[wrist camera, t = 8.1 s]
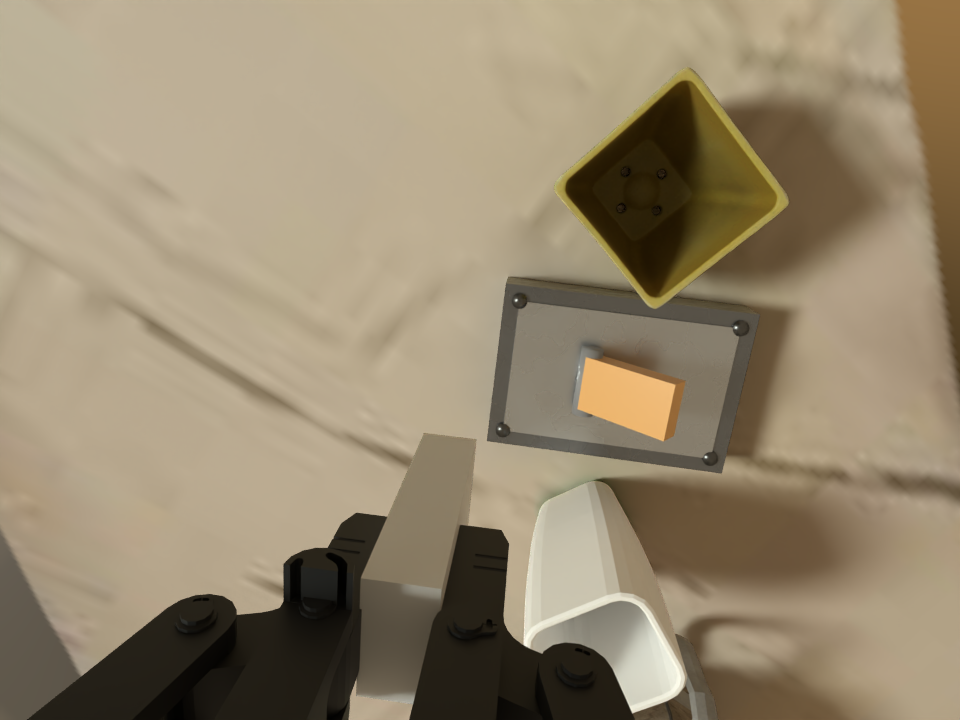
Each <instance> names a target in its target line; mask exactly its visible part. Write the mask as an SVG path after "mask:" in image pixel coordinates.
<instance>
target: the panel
mask: <svg viewBox="0 0 960 720" xmlns="http://www.w3.org/2000/svg"><path fill="white" fill-rule="evenodd" d="M759 317H760V314H758V313H756V312H755V311H753V310H751V309H750V308H748V307H746V306H743V305H735V304H727V303H719V302H710V301H702V300H694V299H686V298H678V297H673V298H671V299H670V300H669V301H668V302H666V303H665V304H664V305H662V306H661V307H659V308H657V309H653V308H651V307H649V306H648V305H647V304H646V303H645V302H644V301H643V299H642V298H641V297H640V295H639V294H638V293H637V292H629V291H621V290H612V289H604V288H596V287H588V286H580V285H572V284H563V283H555V282H547V281H539V280H531V279H523V278H514V277H508V279H507V282H506V288H505V296H504V304H503V313H502V321H501V329H500V337H499V346H498V354H497V362H496V370H495V379H494V387H493V395H492V403H491V412H490V420H489V428H488V436H487V441H491V442H498V443H505V444H512V445H520V446H527V447H534V448H541V449H549V450H556V451H563V452H570V453H577V454H585V455H592V456H599V457H606V458H614V459H621V460H628V461H635V462H643V463H650V464H657V465H664V466H671V467H679V468H686V469H693V470H700V471H708V472H715V473H722V470H723V466H724V462H725V458H726V454H727V450H728V445H729V441H730V437H731V433H732V429H733V425H734V421H735V416H736V412H737V408H738V404H739V400H740V396H741V392H742V387H743V383H744V379H745V375H746V371H747V367H748V363H749V359H750V354H751V350H752V346H753V342H754V338H755V334H756V330H757V325H758V321H759ZM582 346H595V347H599V348H602V349H603V350H604V354H603V356H605V357H609V358H612V359H615V360H619V361H622V362H625V363H628V364H632V365H635V366H638V367H642V368H645V369H648V370H652V371H655V372H658V373H662V374H665V375H668V376H671V377H675V378H678V379H681V380H685V381H686V382H685V387H684V391H683V396H682V401H681V405H680V410H679V415H678V419H677V424H676V429H675V433H674V436H673V437H671V438H669V439H667V440H665V441H661V440H658V439H656V438H653V437H650V436H648V435H645V434H642V433H640V432H637V431H634V430H632V429H629V428H626V427H624V426H621V425H618V424H616V423H613V422H610V421H608V420H605V419H602V418H600V417H597V416H594V415H593V416H592V417H579V416H576V415H574V414H573V413H572V405H573V399H574V393H575V387H576V380H577V374H578V368H579V362H580V356H581V349H582Z"/></svg>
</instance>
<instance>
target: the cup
mask: <svg viewBox="0 0 960 720" xmlns="http://www.w3.org/2000/svg"><path fill="white" fill-rule="evenodd" d="M565 642H567V643H576V644H581V645H584V646H586V647H589V648H591V649H594V650H595V651H596V652H598V653H599V654H600V655H602V656H603V657H604V658H605V659H606V660H607V662H608V663H609V665H610V666H611V667H612V669H613V671H614V673H615V676H616V678H617V680H618V682H619V685H620V687H621V689H622V691H623V693H624V696H625V698H626V700H627V702H628V705H629V707H630V709H631V711H632V713H635V712H638V711H640V710H643V709H646V708H649V707H652V706H655V705H657V704H660V703H663V702H666V701H668V700H670V699H672V698H674V697H675V696H677V695H678V694H679V693H680V692H681V691H682V689H683V688H684V687H685V684H686V679H687V673H686V669H685V666H684V663H683V659H682V656H681V653H680V649H679V646H678V643H677V639H676V636H675V633H674V629H673V626H672V623H671V620H670V617H669V614H668V611H667V608H666V605H665V602H664V599H663V596H662V593H661V591H660V588H659V585H658V583H657V580H656V578H655V575H654V572H653V570H652V567H651V565H650V563H649V560H648V558H647V556H646V554H645V552H644V549H643V547H642V545H641V543H640V541H639V539H638V537H637V535H636V533H635V531H634V529H633V528H632V526H631V524H630V522H629V520H628V518H627V516H626V515H625V513H624V511H623V509H622V507H621V505H620V503H619V502H618V500H617V498H616V496H615V494H614V492H613V491H612V489H611V488H610V487H609V486H608V485H607V484H605V483H603V482H599V481H591V482H587V483H585V484H582V485H580V486H578V487H576V488H573V489H571V490H569V491H567V492H564V493H562V494H560V495H558V496H555V497H553V498H551V499H549V500H547V501H546V502H545V503H543V505H542V507H541V508H540V511H539V514H538V518H537V521H536V525H535V529H534V534H533V539H532V543H531V550H530V558H529V567H528V575H527V585H526V599H525V620H524V646H526V647H528V648H530V649H532V650H534V651H537V652H539V653H543V651H545V650H546V649H548V648H549V647H551V646H552V645H555V644H560V643H565Z"/></svg>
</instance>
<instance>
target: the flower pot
mask: <svg viewBox="0 0 960 720" xmlns="http://www.w3.org/2000/svg"><path fill="white" fill-rule="evenodd" d="M625 167H627V168H629V169H630V174H629V175H628V176H623V175H622V174H621V171H622V169H623V168H625ZM659 170H665V172H666V176H665V177H664V178H663V179H660V178H658V176H657V173H658V171H659ZM554 190H555V193H556V195H557V196H558V197H559V198H560V199H561V200H562V202H563V203H564V204H565V205H566V206H567V207H568V209H569V210H570V211H571V212H572V213H573V214H574V215H575V216H576V218H577V219H578V220H579V221H580V222H581V223H582V225H583V226H584V227H585V228H586V229H587V230H588V232H589V233H590V234H591V235H592V236H593V237H594V239H595V240H596V241H597V242H598V243H599V245H600V246H601V247H602V248H603V250H604V251H605V252H606V253H607V255H608V256H609V257H610V258H611V260H612V261H613V262H614V263H615V265H616V266H617V267H618V269H619V270H620V271H621V272H622V274H623V275H624V276H625V277H626V279H627V280H628V281H629V282H630V284H631V285H632V286H633V288H634V289H635V290H636V291H637V293H638V294H639V295H640V297H641V298H642V299H643V301H644V302H645V303H646V304H647V305H648V306H649V307H651V308H653V309H657V308H659V307H661V306H662V305H664V304H665V303H666V302H668V301H669V300H670V299H671V298H673V297H674V296H675V295H676V294H677V293H679V292H680V291H681V290H682V289H684V288H685V287H686V286H688V285H689V284H690V283H691V282H693V281H694V280H695V279H696V278H698V277H699V276H700V275H701V274H703V273H704V272H705V271H706V270H708V269H709V268H710V267H712V266H713V265H714V264H715V263H717V262H718V261H719V260H720V259H722V258H723V257H724V256H726V255H727V254H728V253H730V252H731V251H732V250H734V249H735V248H736V247H737V246H738V245H740V244H741V243H742V242H744V241H745V240H746V239H747V238H749V237H750V236H751V235H753V234H754V233H756V232H757V231H758V230H759V229H760V228H762V227H763V226H764V225H766V224H767V223H768V222H769V221H771V220H772V219H773V218H775V217H776V216H777V215H778V214H779V213H781V212H782V211H783V210H784V209H785V208H786V207H787V206H788V205H789V199H788V196H787V194H786V192H785V191H784V189H783V188H782V186H781V185H780V184H779V183H778V181H777V180H776V178H775V177H774V176H773V175H772V173H771V172H770V170H769V169H768V168H767V166H766V165H765V164H764V162H763V161H762V160H761V159H760V157H759V156H758V155H757V153H756V152H755V151H754V149H753V148H752V147H751V145H750V144H749V143H748V141H747V140H746V138H745V137H744V136H743V134H742V133H741V132H740V131H739V129H738V128H737V127H736V125H735V124H734V123H733V121H732V120H731V119H730V117H729V116H728V114H727V113H726V112H725V110H724V109H723V108H722V106H721V105H720V104H719V102H718V101H717V99H716V98H715V96H714V95H713V94H712V92H711V91H710V89H709V88H708V87H707V85H706V84H705V83H704V81H703V80H702V79H701V78H700V77H699V75H698V74H697V73H696V72H695V71H694V70H692V69H691V68H688V67H687V68H684V69H682V70H680V71H679V72H677V73H676V74H675V75H674V76H673V77H672V78H671V79H670V80H669V81H668V82H666V83H665V84H664V85H663V86H662V87H661V88H660V89H659V90H658V91H656V92H655V93H654V94H653V95H652V96H651V97H650V98H649V99H648V100H647V101H646V102H644V103H643V104H642V105H641V106H640V107H639V108H638V109H637V110H635V111H634V112H633V113H632V114H631V115H630V116H629V117H628V118H627V119H626V120H624V121H623V122H622V123H621V124H620V125H619V126H618V127H617V128H615V129H614V130H613V131H612V132H611V133H610V134H609V135H608V136H607V137H605V138H604V139H603V140H602V141H601V142H600V143H599V144H597V145H596V146H595V147H594V148H593V149H592V150H590V151H589V152H588V153H587V154H586V155H585V156H584V157H582V158H581V159H580V160H579V161H578V162H577V163H575V164H574V165H573V166H572V167H571V168H570V169H568V170H567V171H566V172H565V173H564V174H563V175H562V176H561V177H560V178H559V179H558V180H557V181H556V183H555V185H554ZM619 204H624V205H625V207H626V209H625V211H624V212H618V211H617V206H618V205H619ZM655 206H658V207H660V209H661V212H660V213H659V214H658V215H654V214H653V213H652V209H653V207H655Z"/></svg>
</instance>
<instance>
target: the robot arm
mask: <svg viewBox="0 0 960 720" xmlns="http://www.w3.org/2000/svg"><path fill="white" fill-rule="evenodd" d="M475 449H476V439H469V438H461V437H452V436H444V435H436V434H428V433H424V435H423V437H422V439H421V441H420V444H419V446H418V448H417V451H416V453H415V455H414V457H413V460H412V462H411V464H410V467H409V469H408V471H407V473H406V476H405V478H404V480H403V483H402V485H401V487H400V489H399V492H398V494H397V496H396V499H395V501H394V503H393V505H392V508H391V510H390V512H389V515H388V517H385V516H377V515H370V514H362V513H355V514H354V515H352V516H351V517H350V518H348V519H347V520H345V521H344V522H343V523H341V525H340V527H339V528H338V530H337V532H336V534H335V536H334V539H332V541H331V543H330V545H329V546H328V548H313V549H309V550H304V551H301V552H299V553H297V554H295V555H293V556H291V557H290V558H289V559H288V560H287V561H286V562H285V563H284V602H283V603H282V605H281V607H280V608H278V609H275V610H273V611H268V612H262V613H253V614H243V615H237V612H236V608H235V606H234V604H233V602H232V601H230V600H228V599H227V598H225V597H223V596H218V595H212V594H206V595H195V596H192V597H189V598H186V599H183V600H180V601H178V602H177V603H175V604H173V605H172V606H170V607H168V608H167V609H166V610H164V611H163V612H162V613H161V614H159V615H158V616H157V617H156V618H154V619H153V620H152V621H151V622H149V623H148V624H147V625H146V626H144V627H143V628H142V629H140V630H139V631H138V632H137V633H135V634H134V635H133V636H132V637H130V638H129V639H128V640H127V641H125V642H124V643H123V644H122V645H120V646H119V647H118V648H117V649H115V650H114V651H113V652H112V653H110V654H109V655H108V656H107V657H105V658H104V659H103V660H101V661H100V662H99V663H98V664H96V665H95V666H94V667H93V668H91V669H90V670H89V671H88V672H86V673H85V674H84V675H83V676H81V677H80V678H79V679H78V680H76V681H75V682H74V683H73V684H71V685H70V686H69V687H68V688H66V689H65V690H64V691H62V692H61V693H60V694H59V695H57V696H56V697H55V698H54V699H52V700H51V701H50V702H49V703H48V704H46V705H45V706H44V707H42V708H41V709H40V710H39V711H37V712H36V713H35V714H34V715H32V716H31V717H30V718H29V719H27V720H348V718H349V709H350V695H351V692H352V689H353V687H354V684H355V681H356V678H357V687H356V696H361V697H367V698H374V699H381V700H388V701H394V702H401V703H408V704H413V707H412V711H411V715H410V719H409V720H635V718H634V716H633V714H632V711H631V709H630V707H629V705H628V702H627V700H626V698H625V696H624V693H623V691H622V689H621V687H620V685H619V682H618V680H617V678H616V676H615V673H614V671H613V669H612V667H611V666H610V665H609V663H608V662H607V660H606V659H605V658H604V657H603V656H602V655H600V654H599V653H598V652H596V651H595V650H594V649H591V648H589V647H586V646H584V645H581V644H576V643H567V642H565V643H560V644H555V645H552V646H551V647H549V648H548V649H546V650H545V651H543V653H539V652H537V651H534V650H532V649H530V648H528V647H526V646H524V645H522V644H521V643H519V642H518V641H517V640H516V639H514V638H513V637H512V635H511V634H510V633H509V632H508V631H507V628H506V626H505V624H504V617H503V613H504V600H505V588H506V575H507V562H508V549H509V543H508V541H507V539H506V538H505V536H504V534H503V532H502V530H497V529H489V528H481V527H474V526H468V521H469V511H470V500H471V490H472V480H473V469H474V459H475Z"/></svg>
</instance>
